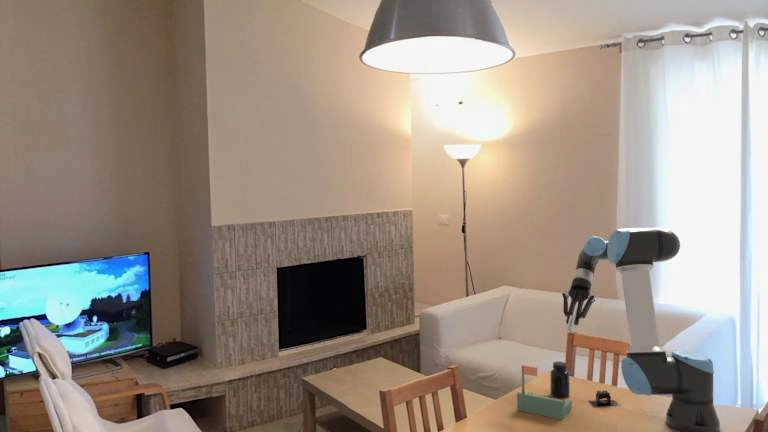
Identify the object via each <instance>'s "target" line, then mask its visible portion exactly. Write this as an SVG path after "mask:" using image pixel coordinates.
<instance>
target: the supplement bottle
mask: <svg viewBox="0 0 768 432" xmlns="http://www.w3.org/2000/svg"><path fill="white" fill-rule="evenodd" d="M567 366H568V365H567V363H566V362H564V361H554V362H553V363H552V369H551V370H550V386H549V387H550V388H549V389H550V395H551V396H553V397H554V398H556V399H565V398H568V397H570V389H571V388H570V371H568V370H567V368H568V367H567Z"/></svg>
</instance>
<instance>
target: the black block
mask: <svg viewBox="0 0 768 432" xmlns="http://www.w3.org/2000/svg"><path fill="white" fill-rule="evenodd" d="M587 402H588V403H589V404H590V405H591V406H592V407H594V408H595V407H620V406H621V405H620V404H619V403H618V402H617V401H616V400H614V399H612V397H611V393H610V392H608V391H607V390H596V393H595V400H587Z"/></svg>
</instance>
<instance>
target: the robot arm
mask: <svg viewBox="0 0 768 432" xmlns="http://www.w3.org/2000/svg"><path fill="white" fill-rule="evenodd" d="M680 249H681V242H680V239H679V237H678V236H677V234H675V233H674V232H673V231H672V230H670V229H667V228H663V227H626V228H618V229H615V230H614V231H612V233H611V234H610V235H609V238H608V240H604V239H603V238H602V237H599V236H597V235H596V236H591V237H589V238H588V239H587V240H586V242H585V243H584V245H583V248H582V249H581V250H580V251H579V254H578V257H577V262H576V267H575V271H574V273H573V277H572V282H571V285H570V289H569V291H568V292H566V293H565V292H563V293H562V294H561V295H562V298H563V314H564V316H565V317H566V321H565V322H566V325H567V326H566V331H567V333H568V334H570V333H571V334H575V331H576V326H578V325H579V322H580V319H585V318H586V317H587V314H588V312H589V311H590V309H591V307H592V304H594V302H595V301H596V298H595V296H594V294H593V295H591V293H590V292H591V288H592V284H593V280H594V275H595V270H596V268H597V265H598V263H599V261H600V260H608V261H609V262H610V264H613V265H615V270H616V271H618V272H619V273H620V274H621V280H622V288H623V289H622V290H623V296H624V303H625V311H626V312H625V313H626V320H627V327H628V335H629V337H628V338H629V343H630V345H629V346H630V347H629V348H628V349H627V350H626V356H625V357H624V358H623V359H622V360H621V366H620V367H621V374H622V377H623V381H624V383H625V385H626V386H627V388H628V389H629V391H630V392H631V393H633V394H634V395H638V396H648V397H649V396H656V395H657V396H658V395H660V396H661V395H662V396H663V395H664V396H665V395H671V400H670V404H669V406H668V408H667V410H666V414H665V417H666V419H665V420H666V423H667V425H668V426H670V427H671V428H672V429H675V430H677V431H681V432H719V431H720V429H721V422H720V418H719V416H718V414H717V411H716V407H715V405H714V374H715V371H714V363H713V360H712V359H711V358H710V357H708V356H706V355H704V354H703V353H698V352H694V351H689V350H683V349H675V350H672V352H671V356H667V353H666V350H665V349H664V348H663V347H661V345H660V342H659V341H660V340H659V332H658V327H657V326H658V324H657V318H656V311H655V304H654V297H653V289H652V282H651V277H650V276H651V275H650V272H651V270H652V269H653V268H654V263H660V262H661V263H662V262H667V261H669V260H671V259H674V258H675V257H676V256H677V255H678V253H679V251H680ZM569 297H570V301H571V302H570V305H569ZM585 301H586V302H585ZM584 302H585V304H584ZM576 305H577V307H576ZM583 306H584V307H583ZM575 307H576V308H575ZM575 309H576V310H575ZM574 313H575V315H574Z"/></svg>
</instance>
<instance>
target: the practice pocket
mask: <svg viewBox="0 0 768 432" xmlns="http://www.w3.org/2000/svg"><path fill="white" fill-rule="evenodd" d="M525 375H527V376H531V377H532V376H533V377H538V367H536V366H535V367H534V366H530V365H524V364H522V365H521V391H518V392H517V393H516V399H517V400H516V401H517V403H516V404H517V405H516V406H517V407H516V408H517V411H520V412H525V413H530V414H535V415H539V416H545V417H548V418H554V419H556V420H557V419H558V420H562V421H563V420H564V419H565V418H566V416H567V415H568V414H569V412H570V411H571V410H572V407H573V406H572V403H573V402H572V400H571V399H567V401H566V402H565V400H563V399H559V398H553V397H546V396H543V395H536V394H533V392H525Z"/></svg>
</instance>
